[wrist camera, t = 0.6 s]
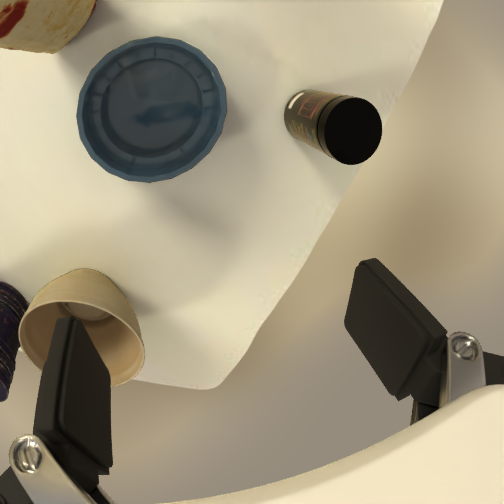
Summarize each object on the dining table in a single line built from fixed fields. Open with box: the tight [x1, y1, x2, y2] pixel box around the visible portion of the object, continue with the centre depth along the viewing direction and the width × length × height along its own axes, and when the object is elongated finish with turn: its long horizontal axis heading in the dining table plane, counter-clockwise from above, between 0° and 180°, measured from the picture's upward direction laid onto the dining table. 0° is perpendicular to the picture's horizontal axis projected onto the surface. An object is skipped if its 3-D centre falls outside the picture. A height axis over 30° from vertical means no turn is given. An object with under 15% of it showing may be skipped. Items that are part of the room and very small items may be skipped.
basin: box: [76, 37, 227, 183], centre depth 27 cm, size 14×14×6 cm
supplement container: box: [284, 90, 382, 165], centre depth 30 cm, size 7×7×10 cm
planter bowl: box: [19, 269, 145, 388], centre depth 34 cm, size 16×16×11 cm
